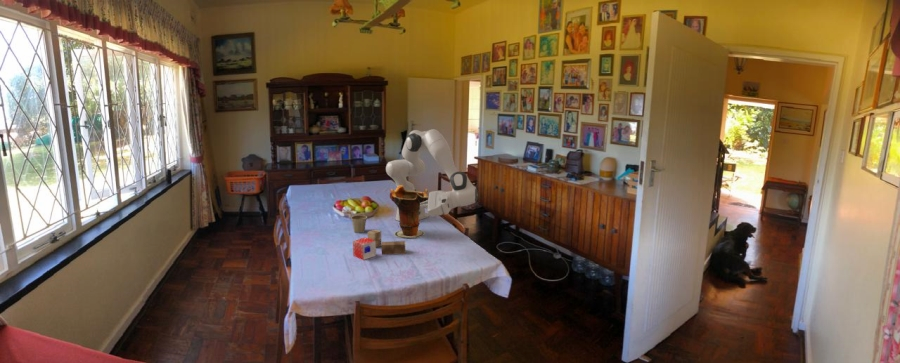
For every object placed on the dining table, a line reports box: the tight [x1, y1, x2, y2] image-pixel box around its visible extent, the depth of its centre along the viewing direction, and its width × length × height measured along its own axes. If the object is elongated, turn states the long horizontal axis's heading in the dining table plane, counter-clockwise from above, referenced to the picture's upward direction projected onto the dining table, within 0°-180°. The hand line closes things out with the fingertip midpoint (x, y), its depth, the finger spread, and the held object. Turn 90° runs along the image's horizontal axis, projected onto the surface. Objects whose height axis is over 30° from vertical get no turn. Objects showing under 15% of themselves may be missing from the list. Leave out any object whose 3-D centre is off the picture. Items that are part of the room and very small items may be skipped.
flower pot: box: [350, 214, 368, 234], centre depth 253 cm, size 9×9×9 cm
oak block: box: [367, 229, 382, 248], centre depth 230 cm, size 5×5×8 cm
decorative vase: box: [389, 185, 429, 239], centre depth 247 cm, size 21×23×28 cm
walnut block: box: [381, 240, 407, 255], centre depth 221 cm, size 5×5×12 cm
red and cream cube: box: [352, 236, 377, 261], centre depth 216 cm, size 8×8×8 cm
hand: (420, 205), depth 220 cm, fingers closed
